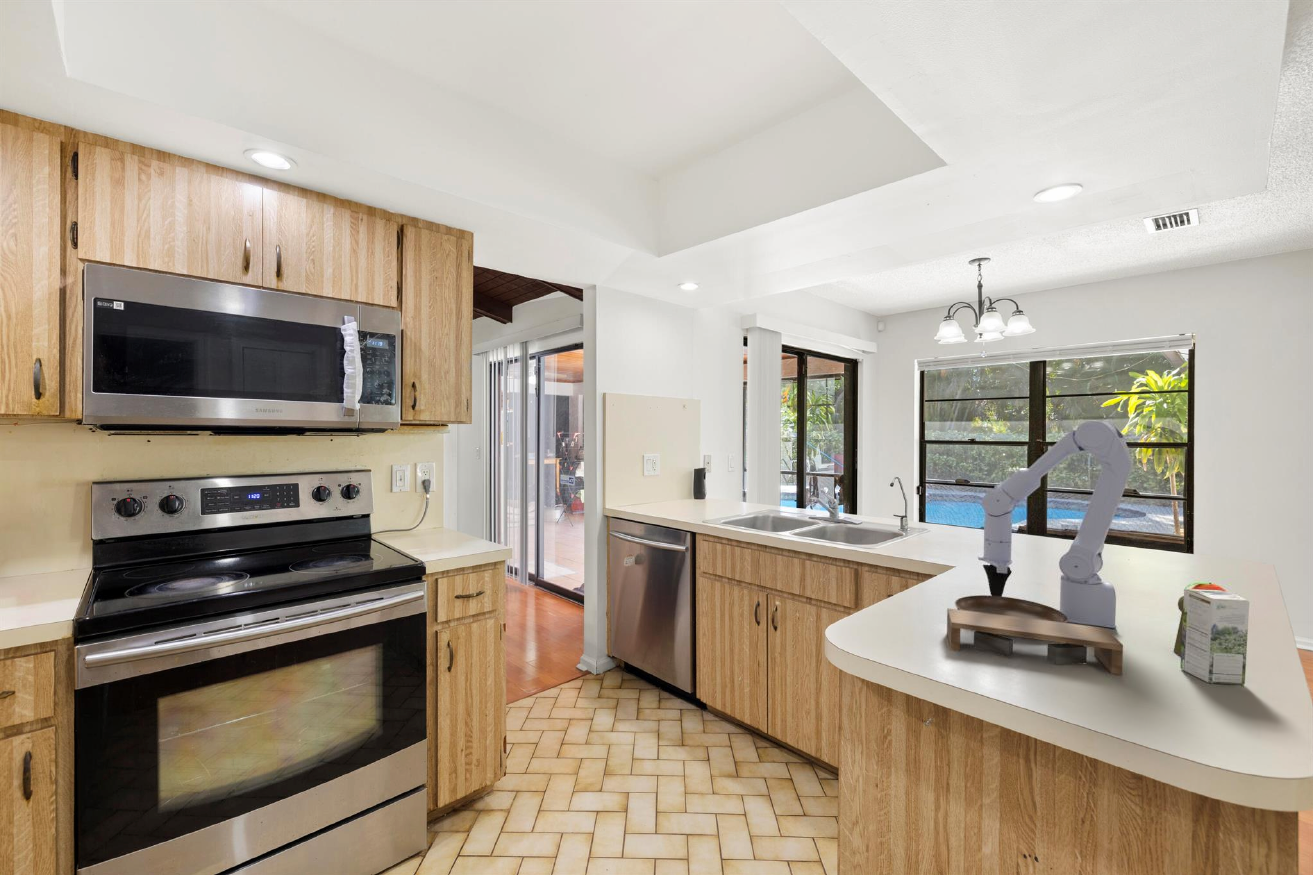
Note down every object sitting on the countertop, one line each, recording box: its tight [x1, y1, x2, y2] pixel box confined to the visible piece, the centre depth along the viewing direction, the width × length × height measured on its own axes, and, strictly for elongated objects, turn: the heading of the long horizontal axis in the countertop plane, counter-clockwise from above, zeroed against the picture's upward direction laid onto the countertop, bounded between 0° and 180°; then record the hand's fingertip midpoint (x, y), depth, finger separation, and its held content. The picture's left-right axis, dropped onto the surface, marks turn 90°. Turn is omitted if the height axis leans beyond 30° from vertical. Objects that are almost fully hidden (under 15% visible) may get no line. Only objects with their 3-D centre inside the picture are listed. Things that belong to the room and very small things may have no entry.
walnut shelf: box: [946, 608, 1124, 676], centre depth 105 cm, size 26×9×5 cm, turn 67°
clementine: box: [1183, 582, 1227, 592], centre depth 130 cm, size 8×7×7 cm
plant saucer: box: [954, 594, 1068, 623], centre depth 121 cm, size 21×21×3 cm
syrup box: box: [1179, 588, 1250, 686], centre depth 95 cm, size 6×6×14 cm
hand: (996, 595), depth 136 cm, fingers closed
